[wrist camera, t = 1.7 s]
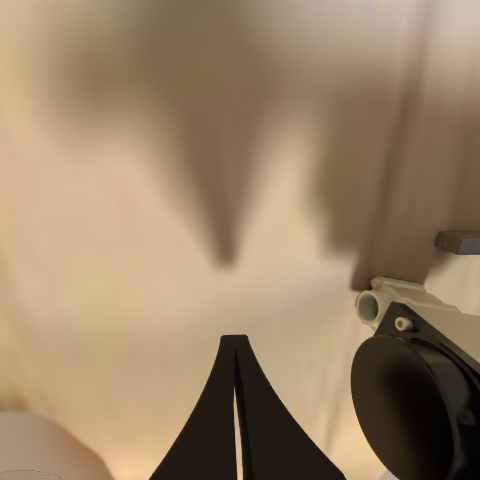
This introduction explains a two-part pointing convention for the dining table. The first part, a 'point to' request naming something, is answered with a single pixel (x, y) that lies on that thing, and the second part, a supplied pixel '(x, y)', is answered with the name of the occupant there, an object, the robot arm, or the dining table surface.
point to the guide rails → (459, 242)
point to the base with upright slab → (27, 475)
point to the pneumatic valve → (418, 383)
